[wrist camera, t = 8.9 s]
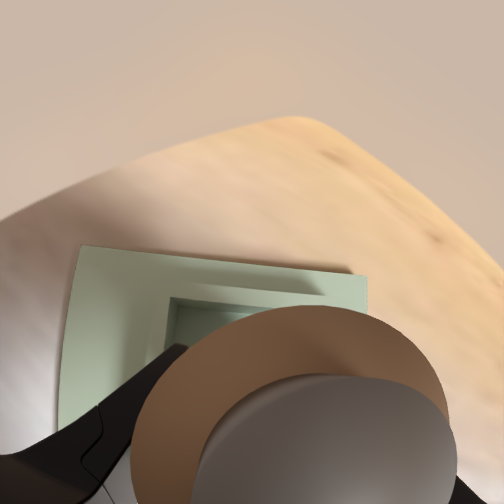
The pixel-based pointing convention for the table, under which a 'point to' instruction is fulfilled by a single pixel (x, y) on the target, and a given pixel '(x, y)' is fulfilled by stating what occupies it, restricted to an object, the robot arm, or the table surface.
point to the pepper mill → (296, 417)
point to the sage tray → (169, 311)
